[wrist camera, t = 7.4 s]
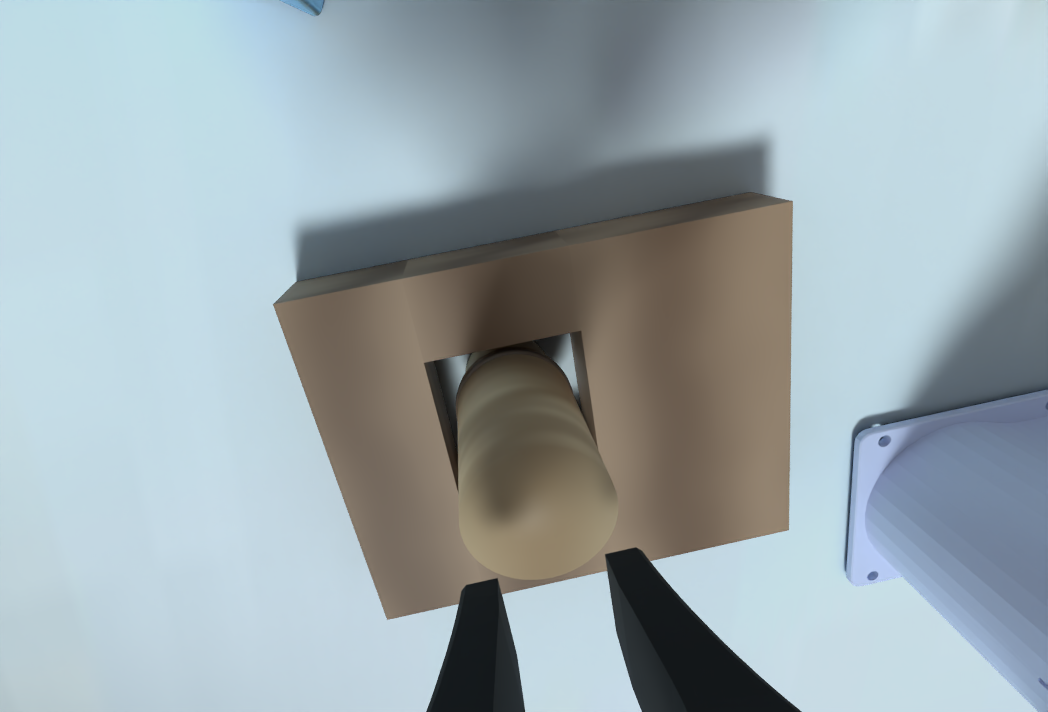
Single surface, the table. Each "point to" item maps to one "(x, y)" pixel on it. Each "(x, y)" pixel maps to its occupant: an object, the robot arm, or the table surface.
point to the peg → (528, 467)
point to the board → (601, 369)
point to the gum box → (307, 5)
